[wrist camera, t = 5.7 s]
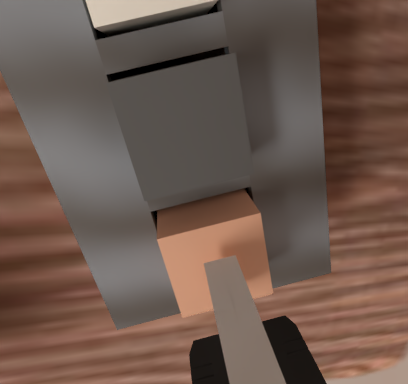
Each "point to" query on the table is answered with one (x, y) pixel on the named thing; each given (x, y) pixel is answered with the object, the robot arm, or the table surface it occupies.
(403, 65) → the table surface
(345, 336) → the table surface
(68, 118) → the console
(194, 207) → the key terracotta
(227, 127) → the key dark gray
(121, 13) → the key ivory
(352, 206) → the table surface
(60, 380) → the table surface
